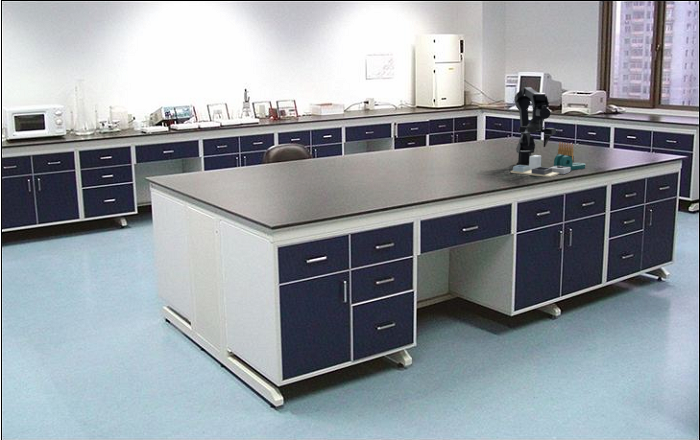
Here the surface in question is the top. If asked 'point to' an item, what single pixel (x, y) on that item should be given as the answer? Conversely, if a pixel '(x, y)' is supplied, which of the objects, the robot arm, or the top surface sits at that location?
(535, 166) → the plug
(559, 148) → the ammunition clip
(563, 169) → the grey knob block
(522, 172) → the board
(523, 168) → the header 3pin
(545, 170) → the frame
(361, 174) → the top surface
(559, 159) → the bracket
